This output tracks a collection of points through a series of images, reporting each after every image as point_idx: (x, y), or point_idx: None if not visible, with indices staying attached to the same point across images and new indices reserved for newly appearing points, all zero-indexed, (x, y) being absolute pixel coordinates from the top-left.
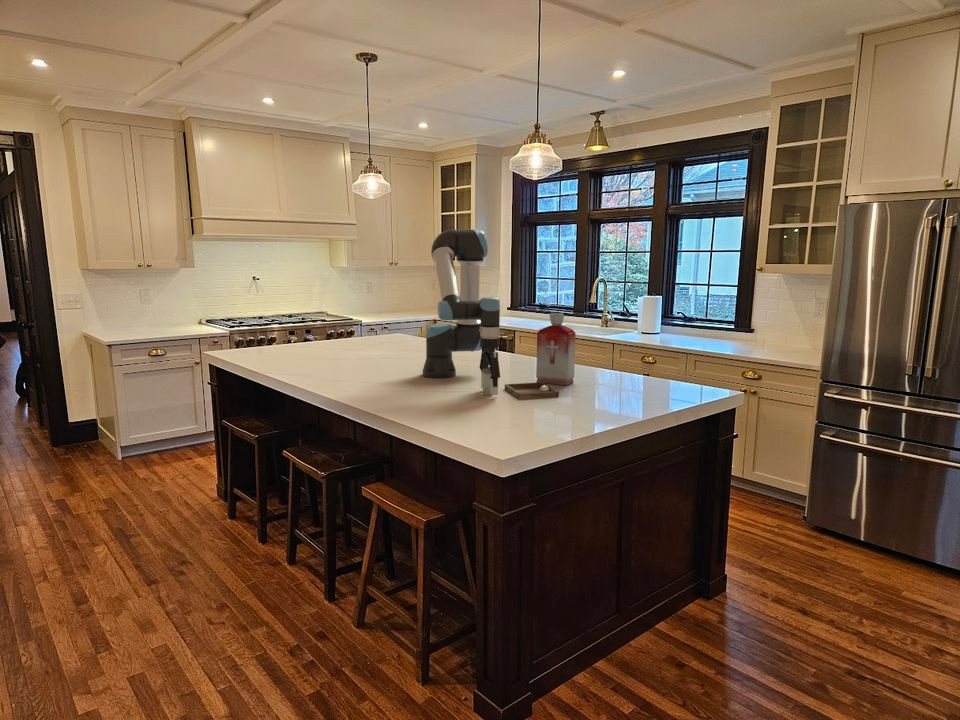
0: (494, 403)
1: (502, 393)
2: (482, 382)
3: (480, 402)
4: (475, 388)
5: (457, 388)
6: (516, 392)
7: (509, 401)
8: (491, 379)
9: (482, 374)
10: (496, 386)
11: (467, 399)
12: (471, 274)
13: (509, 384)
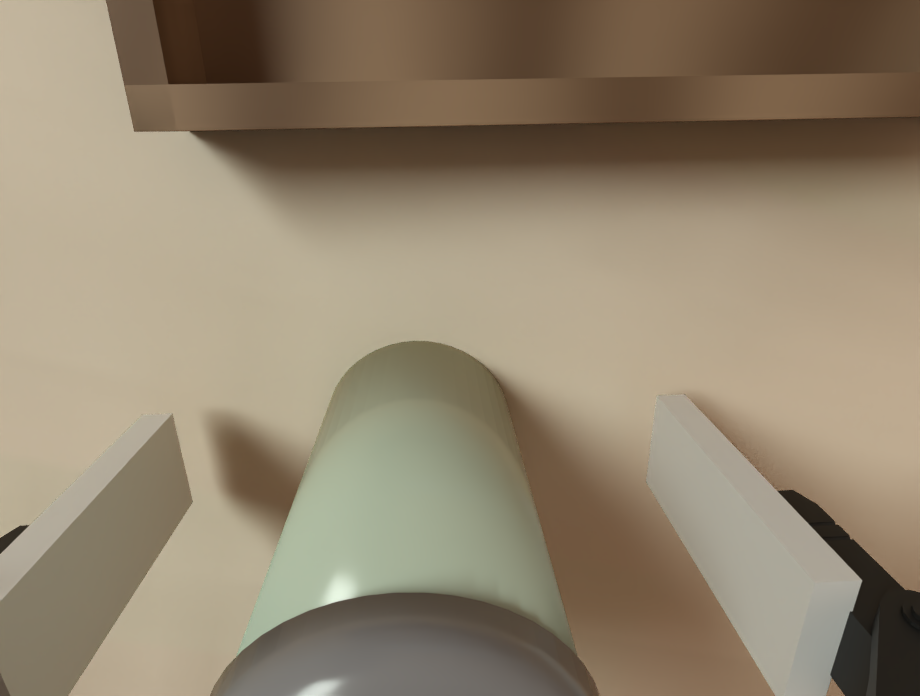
0: (889, 474)
1: (408, 233)
2: (152, 550)
3: None
4: (38, 514)
5: None
6: (866, 117)
7: (898, 277)
8: (809, 681)
9: (63, 679)
10: (797, 507)
11: (601, 674)
12: None
13: (156, 22)
